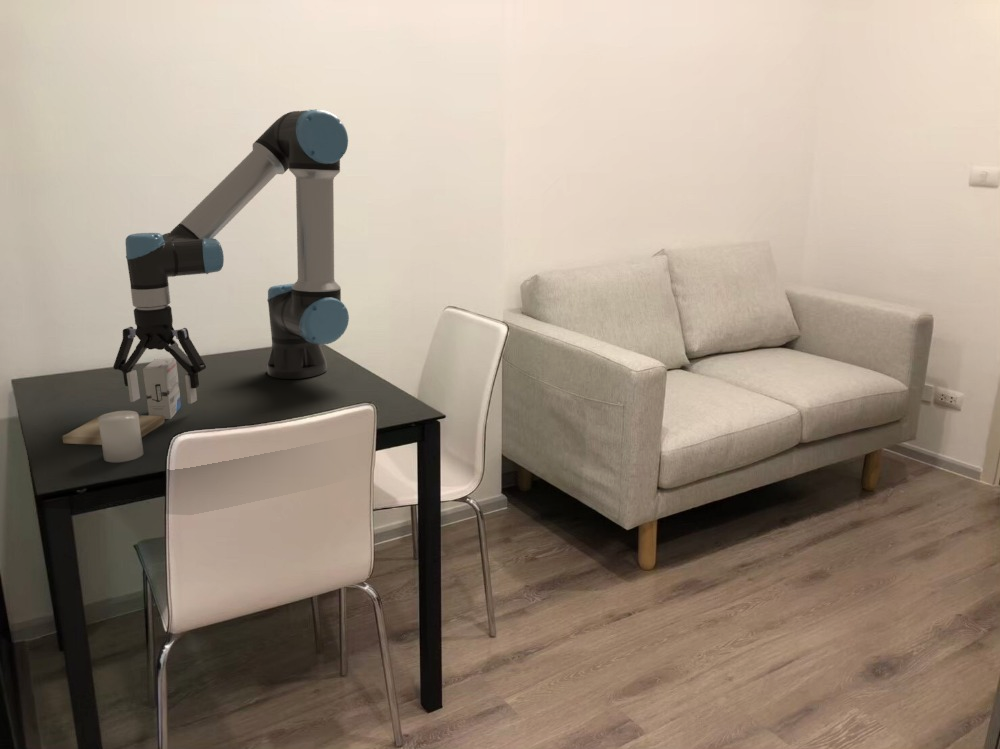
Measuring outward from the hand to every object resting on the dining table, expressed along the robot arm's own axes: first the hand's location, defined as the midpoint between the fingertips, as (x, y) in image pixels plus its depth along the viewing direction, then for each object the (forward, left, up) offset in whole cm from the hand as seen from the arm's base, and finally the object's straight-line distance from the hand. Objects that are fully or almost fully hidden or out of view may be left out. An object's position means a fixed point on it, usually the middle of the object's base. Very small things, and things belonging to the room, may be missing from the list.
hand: (163, 401), depth 184 cm
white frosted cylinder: (-5, +25, -3) cm, 26 cm away
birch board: (+4, +13, -3) cm, 14 cm away
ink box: (0, 0, -3) cm, 3 cm away
